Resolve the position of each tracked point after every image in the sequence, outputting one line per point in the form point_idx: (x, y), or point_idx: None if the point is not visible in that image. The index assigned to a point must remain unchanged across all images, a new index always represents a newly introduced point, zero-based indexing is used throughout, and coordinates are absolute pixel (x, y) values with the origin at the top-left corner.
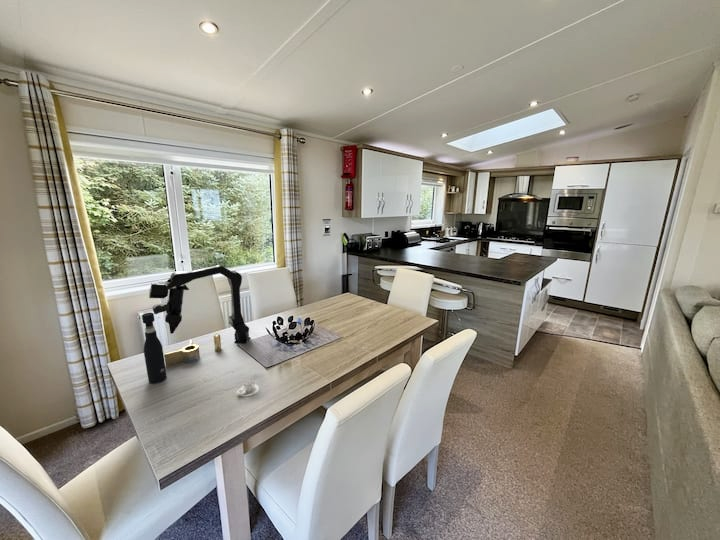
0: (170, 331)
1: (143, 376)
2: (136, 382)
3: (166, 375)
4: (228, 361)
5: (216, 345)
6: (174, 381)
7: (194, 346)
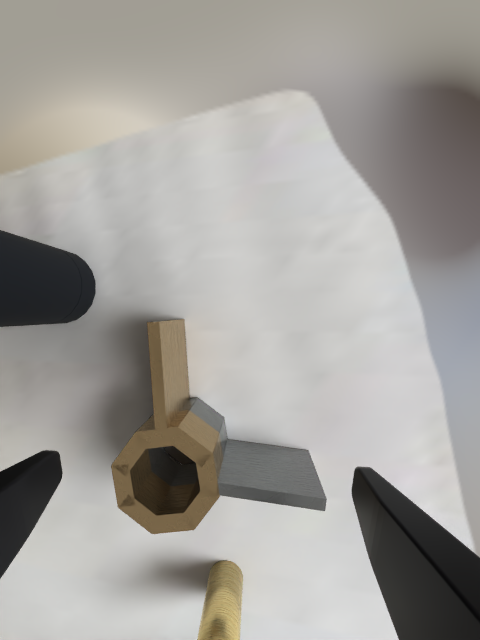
0: (2, 475)
1: (126, 225)
2: (84, 201)
3: (57, 323)
4: (64, 593)
5: (204, 608)
6: (6, 353)
7: (187, 506)
